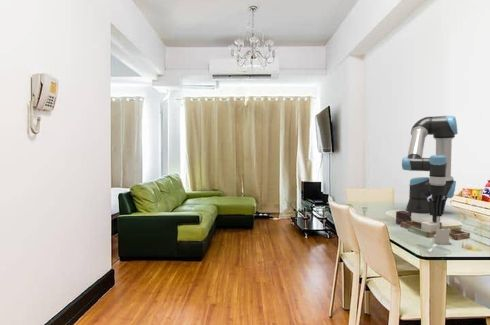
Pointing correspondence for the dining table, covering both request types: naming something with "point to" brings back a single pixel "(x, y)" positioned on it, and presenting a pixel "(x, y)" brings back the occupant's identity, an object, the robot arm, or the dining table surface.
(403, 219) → the box
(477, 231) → the dining table surface
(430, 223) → the block
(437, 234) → the grey square block
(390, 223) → the dining table surface
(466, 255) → the dining table surface
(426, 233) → the trap channel
